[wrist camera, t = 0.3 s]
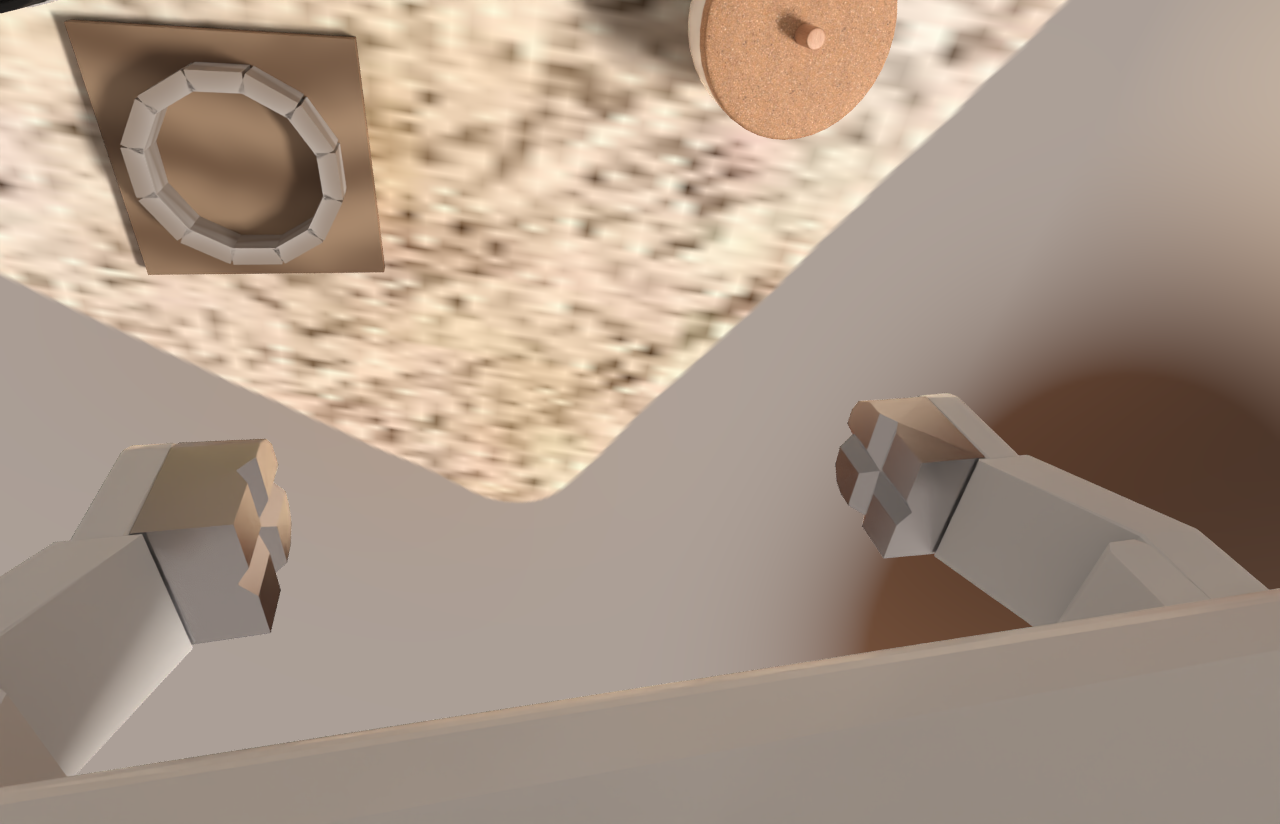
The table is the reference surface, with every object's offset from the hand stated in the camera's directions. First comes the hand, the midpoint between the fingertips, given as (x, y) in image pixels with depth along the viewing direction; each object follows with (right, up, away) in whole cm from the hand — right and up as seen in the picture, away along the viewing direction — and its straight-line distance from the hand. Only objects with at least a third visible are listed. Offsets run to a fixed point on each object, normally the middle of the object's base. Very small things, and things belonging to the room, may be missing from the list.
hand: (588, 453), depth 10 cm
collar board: (-26, +18, +39) cm, 50 cm away
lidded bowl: (+9, +29, +41) cm, 51 cm away
